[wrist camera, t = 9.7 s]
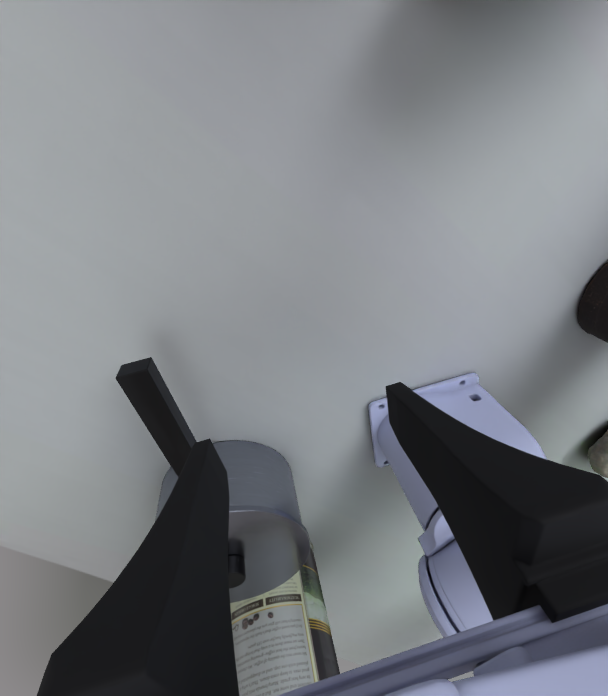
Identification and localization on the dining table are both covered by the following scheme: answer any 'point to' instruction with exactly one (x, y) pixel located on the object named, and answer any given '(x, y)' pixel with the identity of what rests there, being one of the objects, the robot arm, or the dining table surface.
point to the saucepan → (230, 488)
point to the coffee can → (283, 636)
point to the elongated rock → (599, 456)
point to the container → (595, 306)
